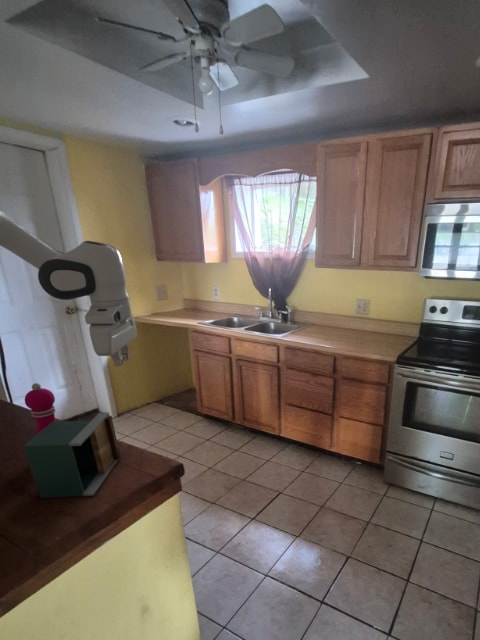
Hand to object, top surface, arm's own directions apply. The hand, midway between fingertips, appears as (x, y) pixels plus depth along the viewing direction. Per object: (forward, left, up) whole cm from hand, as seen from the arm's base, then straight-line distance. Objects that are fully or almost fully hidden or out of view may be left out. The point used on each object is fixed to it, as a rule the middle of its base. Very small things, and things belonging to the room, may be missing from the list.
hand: (122, 362), depth 99 cm
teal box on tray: (-5, -22, -21) cm, 31 cm away
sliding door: (0, -19, -20) cm, 27 cm away
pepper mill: (-16, -12, -21) cm, 29 cm away
